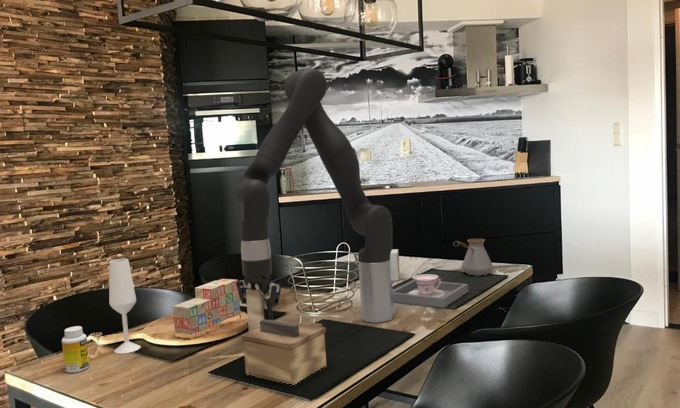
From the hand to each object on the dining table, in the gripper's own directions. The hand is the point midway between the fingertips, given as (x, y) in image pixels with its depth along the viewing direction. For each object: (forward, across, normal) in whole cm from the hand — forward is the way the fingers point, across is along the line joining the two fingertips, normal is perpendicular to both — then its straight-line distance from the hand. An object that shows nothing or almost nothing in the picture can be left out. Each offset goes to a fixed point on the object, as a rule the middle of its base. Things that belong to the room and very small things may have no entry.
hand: (260, 320), depth 151 cm
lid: (-2, -17, +10) cm, 20 cm away
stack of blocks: (+7, +25, -5) cm, 26 cm away
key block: (+3, 0, 0) cm, 3 cm away
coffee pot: (+6, -22, -90) cm, 93 cm away
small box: (+6, +4, -77) cm, 77 cm away
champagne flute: (+7, +32, +18) cm, 37 cm away
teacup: (+6, -19, -58) cm, 62 cm away
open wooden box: (+7, -17, +11) cm, 21 cm away
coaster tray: (+6, -20, -58) cm, 62 cm away
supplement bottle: (+7, +31, +33) cm, 46 cm away
